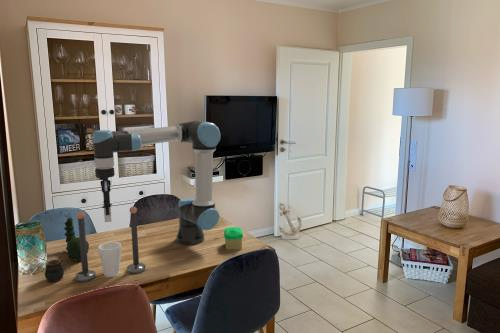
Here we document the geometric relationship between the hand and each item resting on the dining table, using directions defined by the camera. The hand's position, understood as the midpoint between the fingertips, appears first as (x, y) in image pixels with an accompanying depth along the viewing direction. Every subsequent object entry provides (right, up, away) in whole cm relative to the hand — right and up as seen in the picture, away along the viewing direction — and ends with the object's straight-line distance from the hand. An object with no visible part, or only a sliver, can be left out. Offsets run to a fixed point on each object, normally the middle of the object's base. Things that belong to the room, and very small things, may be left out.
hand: (108, 221), depth 163 cm
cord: (+10, -21, +8) cm, 25 cm away
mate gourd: (-22, -25, -1) cm, 33 cm away
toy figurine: (-24, -20, +22) cm, 39 cm away
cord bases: (0, -24, +4) cm, 24 cm away
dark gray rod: (-10, -23, 0) cm, 25 cm away
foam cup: (0, -24, +4) cm, 24 cm away
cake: (+52, -18, +35) cm, 66 cm away
